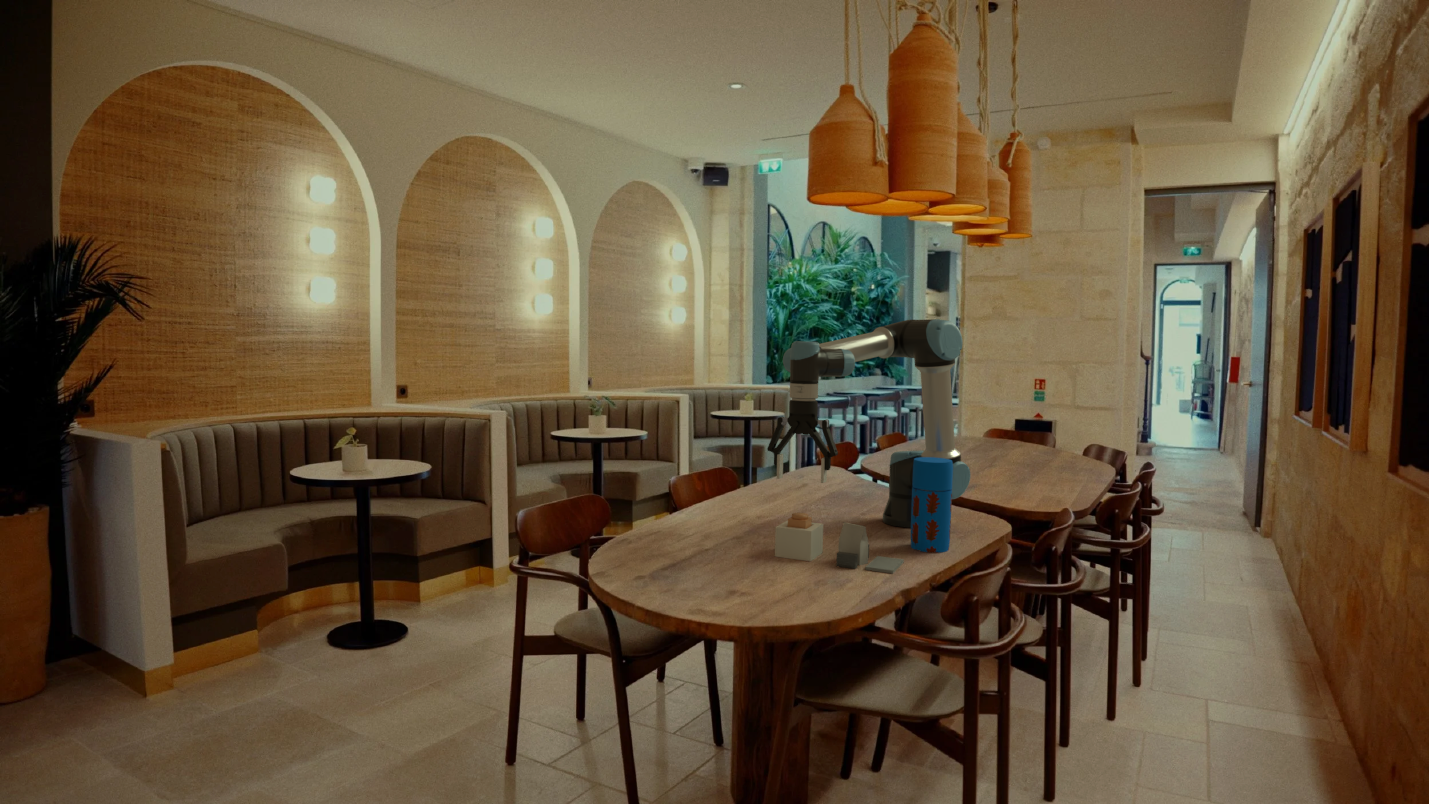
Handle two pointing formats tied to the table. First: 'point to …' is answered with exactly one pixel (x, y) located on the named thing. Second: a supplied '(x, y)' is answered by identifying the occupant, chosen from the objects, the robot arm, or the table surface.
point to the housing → (799, 542)
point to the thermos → (931, 504)
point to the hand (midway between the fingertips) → (801, 480)
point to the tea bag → (854, 541)
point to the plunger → (800, 521)
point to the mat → (885, 564)
